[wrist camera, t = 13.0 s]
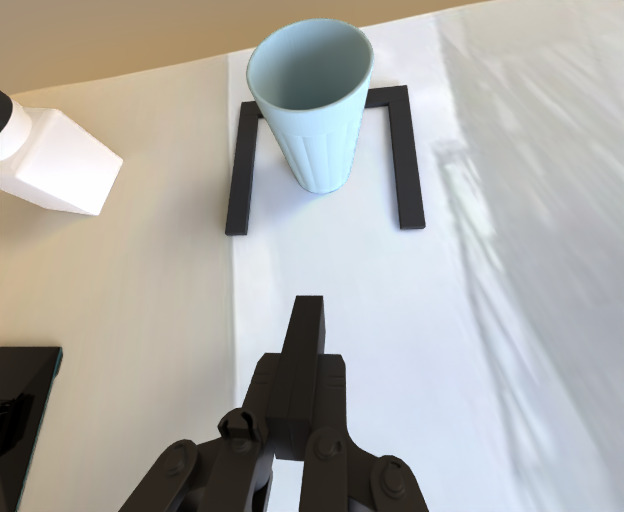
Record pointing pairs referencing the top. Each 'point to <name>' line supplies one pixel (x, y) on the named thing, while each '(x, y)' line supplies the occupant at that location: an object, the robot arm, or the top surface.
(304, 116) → the cup
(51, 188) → the medicine bottle
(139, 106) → the top surface
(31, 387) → the build plate
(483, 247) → the top surface
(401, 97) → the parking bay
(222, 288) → the top surface
